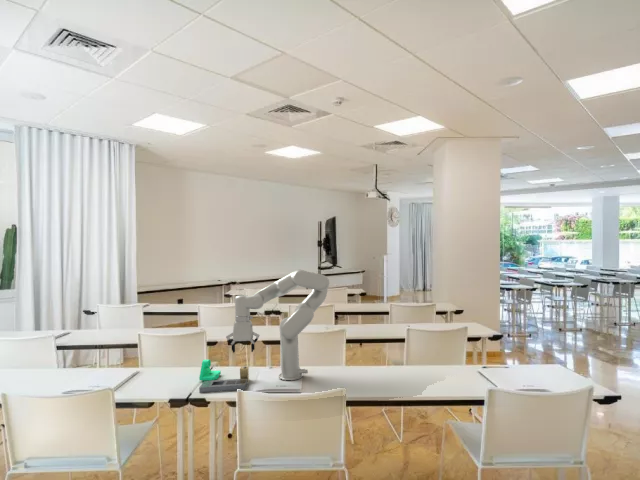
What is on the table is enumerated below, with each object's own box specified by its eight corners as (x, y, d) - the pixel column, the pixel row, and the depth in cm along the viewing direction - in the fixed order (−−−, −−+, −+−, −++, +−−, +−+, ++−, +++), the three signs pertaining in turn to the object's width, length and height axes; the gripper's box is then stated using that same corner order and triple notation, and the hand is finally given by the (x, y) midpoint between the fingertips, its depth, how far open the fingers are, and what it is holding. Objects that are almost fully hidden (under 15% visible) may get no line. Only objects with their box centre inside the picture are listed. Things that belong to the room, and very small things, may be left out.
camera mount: (213, 382, 204) (212, 362, 204) (199, 382, 204) (198, 362, 205) (221, 375, 216) (220, 356, 216) (208, 375, 216) (207, 356, 217)
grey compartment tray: (247, 383, 199) (247, 378, 199) (245, 390, 189) (244, 384, 190) (204, 385, 198) (204, 380, 198) (199, 392, 188) (199, 387, 188)
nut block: (249, 379, 205) (248, 366, 206) (248, 382, 201) (247, 368, 202) (241, 380, 205) (241, 366, 205) (240, 382, 201) (239, 368, 201)
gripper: (259, 317, 209) (260, 349, 208) (227, 318, 208) (227, 350, 207) (258, 319, 201) (259, 352, 201) (224, 320, 200) (225, 354, 199)
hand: (243, 351), depth 204 cm, fingers open, 9 cm apart
